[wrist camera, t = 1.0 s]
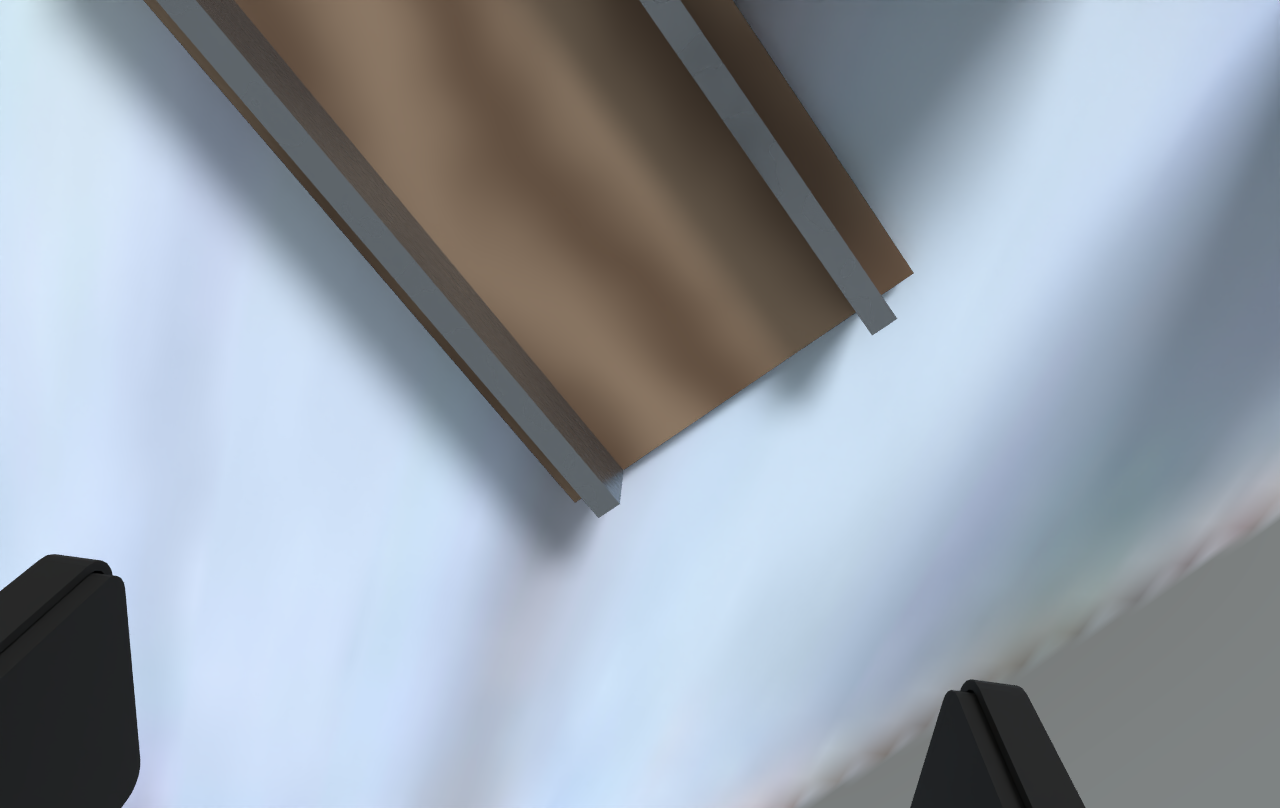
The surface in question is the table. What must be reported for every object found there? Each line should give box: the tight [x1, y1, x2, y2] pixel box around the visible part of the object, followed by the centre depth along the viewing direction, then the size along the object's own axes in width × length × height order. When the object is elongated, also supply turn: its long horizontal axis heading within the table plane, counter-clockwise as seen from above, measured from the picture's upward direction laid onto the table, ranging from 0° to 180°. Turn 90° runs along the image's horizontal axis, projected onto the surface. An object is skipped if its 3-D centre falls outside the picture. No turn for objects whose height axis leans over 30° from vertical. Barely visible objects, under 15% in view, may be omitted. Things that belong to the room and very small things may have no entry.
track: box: [144, 0, 913, 518], centre depth 32 cm, size 16×28×4 cm, turn 37°
